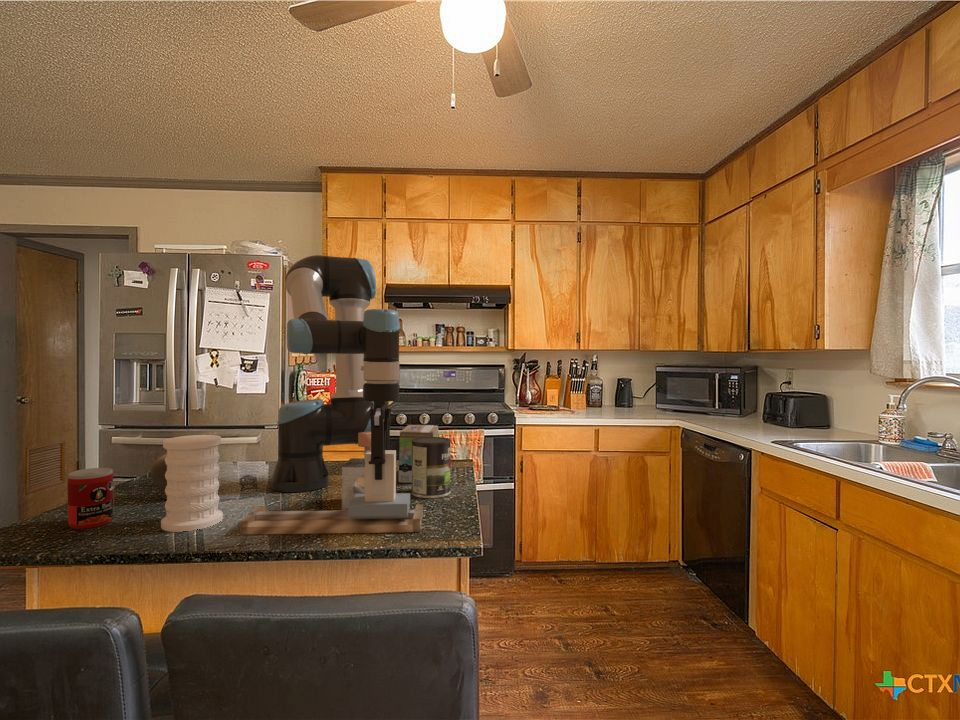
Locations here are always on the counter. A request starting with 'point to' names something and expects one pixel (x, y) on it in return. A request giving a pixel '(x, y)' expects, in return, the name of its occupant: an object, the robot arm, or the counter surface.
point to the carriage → (380, 504)
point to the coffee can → (431, 467)
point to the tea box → (406, 447)
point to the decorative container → (192, 483)
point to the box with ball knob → (352, 480)
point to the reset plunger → (364, 441)
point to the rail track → (325, 522)
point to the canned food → (90, 498)
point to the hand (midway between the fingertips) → (380, 491)
